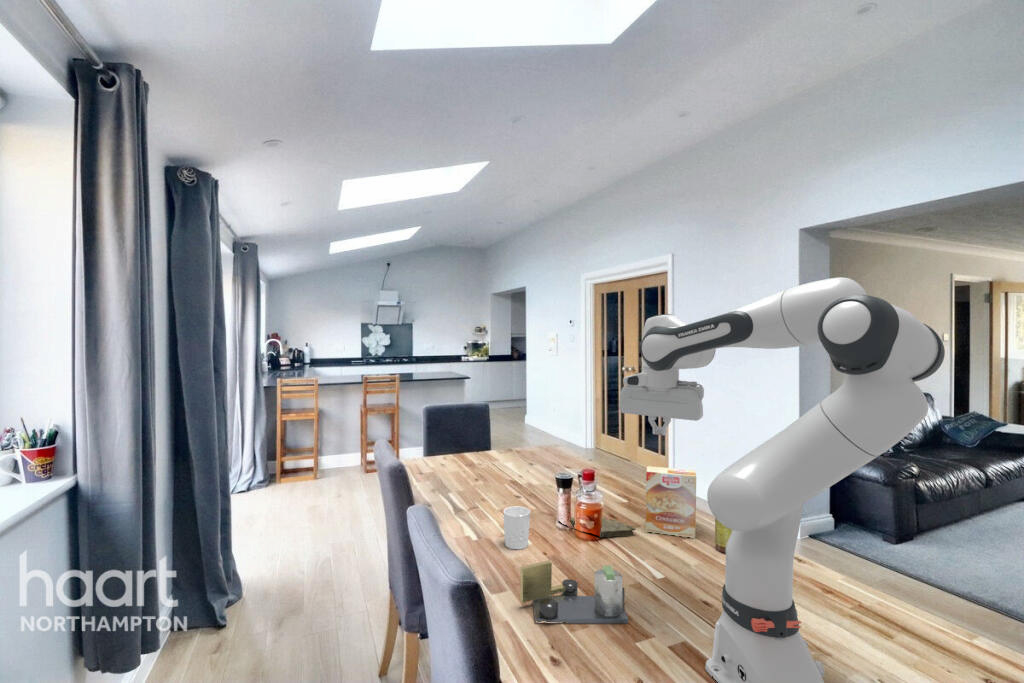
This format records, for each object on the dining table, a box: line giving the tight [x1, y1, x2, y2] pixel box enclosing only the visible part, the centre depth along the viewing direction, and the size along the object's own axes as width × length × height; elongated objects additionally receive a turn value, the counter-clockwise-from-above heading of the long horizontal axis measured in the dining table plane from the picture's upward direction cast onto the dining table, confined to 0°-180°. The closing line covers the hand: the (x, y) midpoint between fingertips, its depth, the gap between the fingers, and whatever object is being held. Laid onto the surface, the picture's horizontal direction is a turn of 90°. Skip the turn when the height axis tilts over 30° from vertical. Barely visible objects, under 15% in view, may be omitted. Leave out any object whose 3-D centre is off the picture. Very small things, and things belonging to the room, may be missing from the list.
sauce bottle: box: [714, 517, 732, 554], centre depth 138 cm, size 7×6×20 cm
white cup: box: [503, 505, 531, 550], centre depth 140 cm, size 8×8×10 cm
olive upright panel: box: [519, 560, 579, 603], centre depth 111 cm, size 15×4×9 cm, turn 116°
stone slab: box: [570, 517, 637, 539], centre depth 153 cm, size 27×12×5 cm, turn 56°
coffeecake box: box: [644, 465, 697, 539], centre depth 151 cm, size 15×7×20 cm, turn 73°
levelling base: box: [532, 564, 629, 624], centre depth 106 cm, size 10×21×10 cm, turn 91°
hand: (659, 434), depth 119 cm, fingers closed
